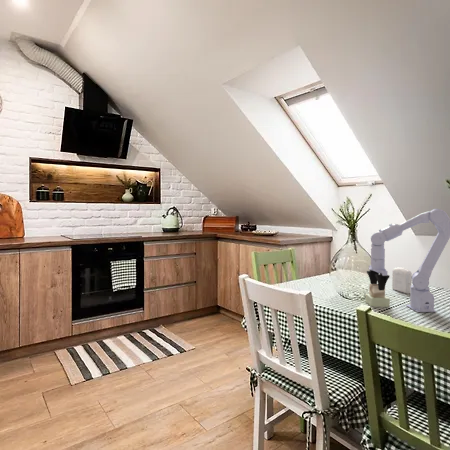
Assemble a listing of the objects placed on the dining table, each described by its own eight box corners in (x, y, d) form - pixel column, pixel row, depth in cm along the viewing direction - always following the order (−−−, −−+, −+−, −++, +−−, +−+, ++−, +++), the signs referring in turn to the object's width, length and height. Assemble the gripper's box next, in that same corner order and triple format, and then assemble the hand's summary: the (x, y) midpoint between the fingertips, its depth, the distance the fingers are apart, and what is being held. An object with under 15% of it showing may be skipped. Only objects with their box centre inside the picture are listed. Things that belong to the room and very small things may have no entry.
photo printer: (412, 293, 178) (413, 269, 178) (406, 293, 177) (406, 269, 176) (397, 288, 188) (397, 265, 188) (390, 289, 187) (391, 266, 186)
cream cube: (384, 297, 158) (385, 286, 157) (373, 297, 158) (374, 286, 157) (379, 294, 163) (380, 283, 162) (369, 294, 163) (369, 283, 162)
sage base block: (389, 307, 156) (389, 298, 156) (371, 307, 157) (371, 298, 156) (383, 302, 164) (383, 293, 164) (365, 302, 165) (365, 293, 164)
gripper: (362, 256, 166) (362, 284, 167) (376, 261, 152) (376, 292, 153) (377, 256, 166) (376, 284, 167) (392, 261, 152) (392, 291, 153)
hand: (377, 288), depth 160 cm, fingers open, 7 cm apart
